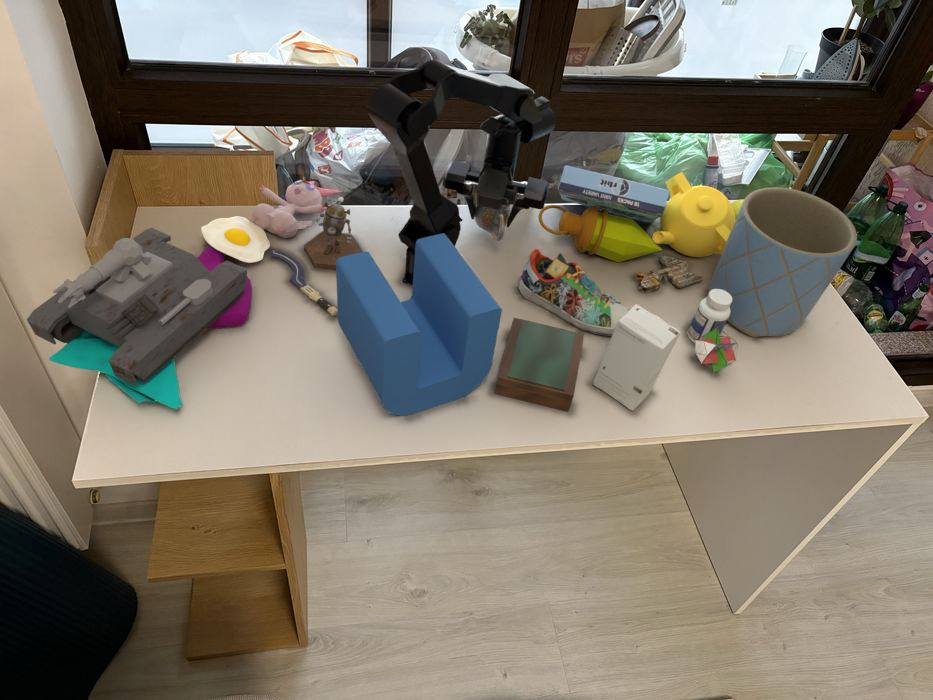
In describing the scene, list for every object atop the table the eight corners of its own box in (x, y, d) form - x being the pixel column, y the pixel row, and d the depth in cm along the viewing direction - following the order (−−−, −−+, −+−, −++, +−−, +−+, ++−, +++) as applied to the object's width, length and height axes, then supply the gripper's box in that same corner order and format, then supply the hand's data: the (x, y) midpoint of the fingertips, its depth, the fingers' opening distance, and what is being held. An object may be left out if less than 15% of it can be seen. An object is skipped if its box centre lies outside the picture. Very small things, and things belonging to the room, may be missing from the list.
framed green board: (494, 393, 116) (497, 376, 113) (510, 333, 126) (513, 316, 123) (568, 411, 116) (574, 394, 112) (579, 350, 125) (584, 332, 122)
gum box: (562, 200, 156) (556, 191, 133) (568, 176, 155) (563, 163, 133) (652, 223, 153) (662, 218, 131) (659, 199, 152) (670, 189, 130)
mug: (470, 211, 145) (474, 182, 140) (505, 211, 146) (510, 183, 141) (478, 250, 136) (482, 220, 132) (514, 250, 137) (520, 221, 133)
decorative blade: (278, 247, 136) (255, 257, 133) (278, 243, 135) (255, 252, 132) (354, 306, 127) (331, 318, 124) (354, 302, 127) (331, 313, 123)
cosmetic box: (591, 385, 120) (613, 319, 109) (610, 365, 123) (634, 300, 113) (634, 413, 117) (662, 349, 106) (653, 393, 120) (682, 328, 109)
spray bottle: (181, 332, 118) (192, 238, 135) (252, 328, 120) (253, 236, 137) (178, 318, 116) (189, 225, 133) (250, 314, 118) (252, 223, 135)
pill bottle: (717, 331, 132) (738, 291, 125) (714, 351, 128) (735, 311, 121) (688, 322, 133) (706, 282, 126) (684, 342, 129) (703, 301, 122)
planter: (750, 355, 129) (800, 267, 114) (682, 286, 140) (719, 198, 125) (826, 326, 136) (882, 241, 121) (755, 264, 147) (799, 178, 132)
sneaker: (619, 349, 126) (634, 307, 119) (509, 299, 132) (517, 256, 125) (635, 323, 131) (650, 282, 124) (528, 277, 137) (536, 235, 130)
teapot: (619, 220, 151) (625, 194, 140) (693, 173, 152) (704, 144, 141) (679, 295, 145) (690, 274, 134) (755, 246, 146) (772, 221, 136)
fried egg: (250, 269, 127) (251, 264, 127) (190, 234, 127) (191, 229, 127) (285, 241, 137) (286, 236, 136) (229, 208, 137) (230, 204, 136)
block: (381, 424, 110) (384, 340, 97) (338, 343, 120) (335, 258, 107) (486, 389, 117) (502, 307, 104) (437, 315, 127) (446, 232, 114)
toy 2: (228, 200, 133) (295, 150, 146) (234, 230, 138) (299, 179, 151) (294, 227, 129) (357, 174, 142) (298, 257, 134) (359, 202, 147)
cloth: (93, 300, 119) (96, 311, 121) (24, 350, 109) (28, 361, 111) (229, 357, 113) (230, 368, 115) (168, 416, 104) (170, 426, 105)
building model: (673, 254, 147) (675, 247, 146) (710, 278, 142) (713, 271, 141) (621, 281, 140) (623, 273, 139) (659, 307, 135) (661, 299, 133)
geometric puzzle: (756, 346, 122) (727, 374, 119) (732, 359, 128) (704, 385, 125) (727, 313, 122) (698, 340, 119) (704, 327, 129) (676, 353, 126)
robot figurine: (297, 265, 132) (293, 210, 123) (306, 233, 138) (303, 179, 130) (359, 271, 133) (359, 217, 124) (365, 239, 139) (366, 185, 131)
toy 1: (158, 250, 127) (136, 176, 116) (252, 292, 122) (238, 218, 111) (37, 341, 111) (-2, 266, 100) (139, 394, 106) (109, 320, 95)
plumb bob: (654, 245, 148) (535, 212, 146) (673, 217, 141) (548, 182, 139) (651, 281, 144) (529, 248, 142) (671, 254, 136) (542, 218, 134)
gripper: (438, 161, 124) (431, 236, 135) (547, 186, 122) (531, 258, 133) (454, 129, 131) (446, 202, 143) (556, 152, 130) (540, 223, 141)
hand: (490, 222), depth 140 cm, fingers closed on mug, 6 cm apart
